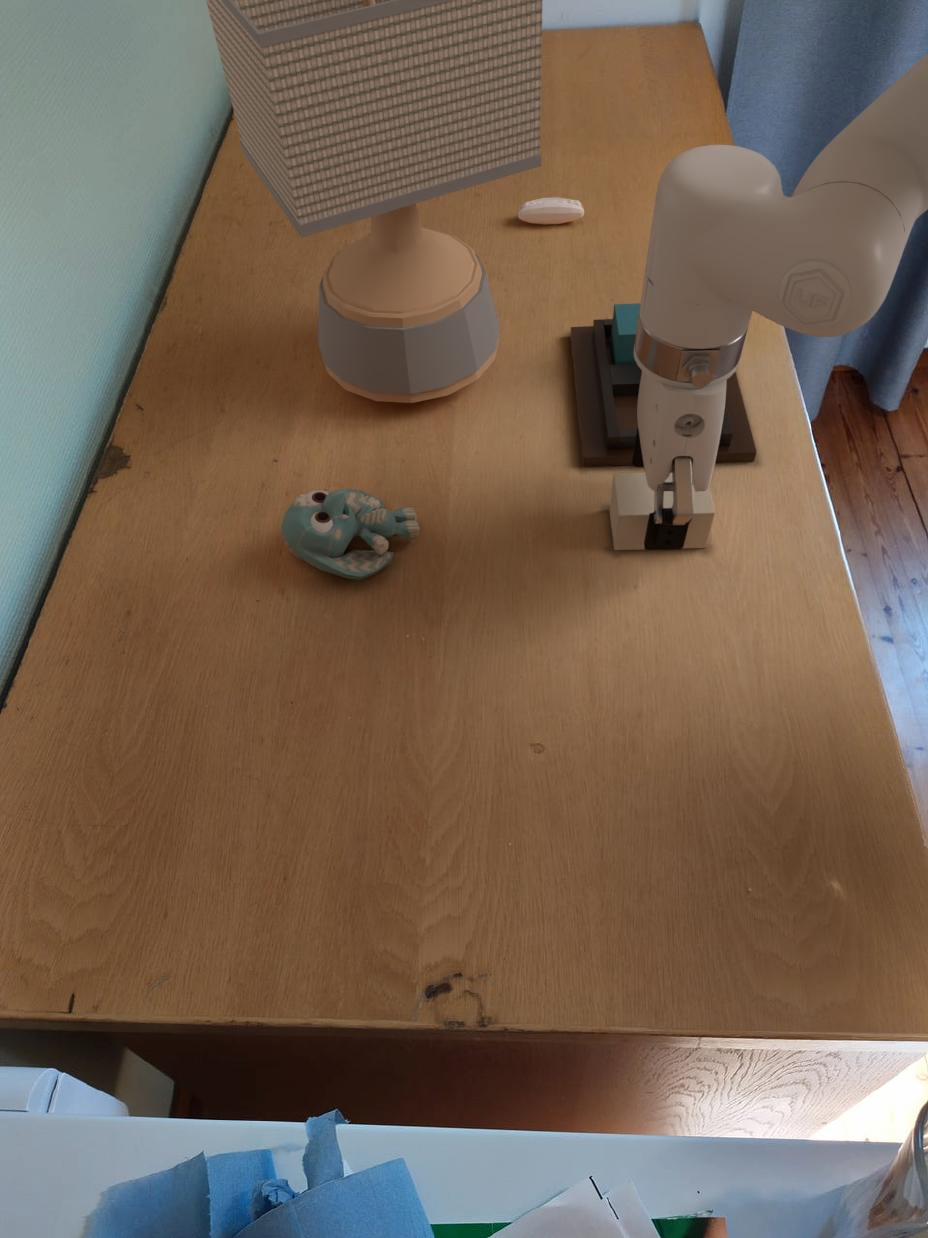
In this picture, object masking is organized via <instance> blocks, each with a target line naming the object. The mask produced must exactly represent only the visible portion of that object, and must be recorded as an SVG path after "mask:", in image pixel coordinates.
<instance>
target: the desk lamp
mask: <svg viewBox="0 0 928 1238" xmlns="http://www.w3.org/2000/svg"><path fill="white" fill-rule="evenodd" d="M205 1H206V6H207V9H208V13H209V17H210V21H211V25H212V29H213V34H214V37H215V41H216V46H217V50H218V53H219V57H220V62H221V66H222V69H223V74H224V78H225V82H226V85H227V90H228V94H229V98H230V101H231V102H230V103H231V106H232V109H233V113H234V118H235V122H236V126H237V130H238V134H239V138H240V140H239V143H240V146H241V151H242V153H243V155H244V156H245V158H246V159H247V161H248V162H249V165H251V166H252V168H253V170H254V171H255V172H256V174H257V175H258V176H259V178H260V180H261V182H263V184H264V186H265V187H266V188H267V190H268V191H269V193H270V195H272V197H273V198H274V200H275V201H276V203H277V204H278V206H279V207H280V209H281V210H282V212H283V213H284V214H285V216H286V218H287V219H288V220H289V222H290V224H291V225H292V227H293V228H294V229H295V231H296V232H297V233H298V235H299V236H300V238H305V237H308V236H312V235H315V234H318V233H322V232H325V231H329V230H332V229H336V228H339V227H342V226H345V225H348V224H352V223H355V222H360V221H362V220H365V219H369V218H370V233H369V234H366V235H365V236H362V237H361V238H358V239H356V240H354V241H352V242H350V243H348V244H346V245H345V246H344V247H343V248H342V249H340V250H339V251H338V252H337V253H336V254H335V255H333V256H332V257H330V259H329V260H328V261H329V262H328V264H327V265H326V268H325V270H324V273H323V276H322V277H321V280H320V282H319V285H318V286H319V287H318V323H317V324H318V326H317V327H318V329H317V342H318V343H317V344H318V347H319V351H320V354H321V358H322V362H323V364H324V367H325V370H326V371H325V372H326V373H327V374H328V375H329V376H330V377H331V378H332V379H333V380H334V381H335V382H337V383H338V385H340V387H342V388H343V389H344V390H345V391H347V392H350V393H353V394H355V395H358V396H361V397H364V398H366V399H369V400H371V401H375V402H388V403H390V402H391V403H406V404H414V403H419V402H423V401H428V400H432V399H433V400H434V399H437V398H442V397H447V396H449V395H451V394H454V393H455V392H458V391H459V390H461V389H463V388H465V387H467V386H468V385H470V384H472V383H475V382H476V381H477V380H479V379H480V378H481V376H482V375H483V374H484V373H485V372H486V370H487V369H488V368H489V367H490V366H491V365H492V364H493V363H494V361H495V360H496V356H497V353H498V347H499V342H500V332H501V325H500V320H499V317H498V313H497V309H496V306H495V302H494V299H493V295H492V291H491V287H490V284H489V279H488V275H487V273H486V270H485V268H484V266H483V264H482V262H481V259H480V258H479V255H478V254H477V253H475V251H474V249H473V248H472V246H470V245H468V244H467V243H465V242H464V241H462V240H461V239H459V238H458V237H456V236H455V235H452V234H448V233H445V232H441V231H438V230H434V229H431V228H425V227H423V225H422V221H421V218H420V214H419V210H418V206H417V204H419V203H421V202H426V201H429V200H432V199H436V198H438V197H442V196H445V195H449V194H453V193H456V192H459V191H462V190H465V189H466V190H467V189H468V188H469V189H470V188H473V187H476V186H479V185H482V184H486V183H489V182H493V181H496V180H499V179H503V178H506V177H509V176H513V175H517V174H519V173H523V172H526V171H529V170H533V169H536V168H539V167H542V153H541V119H542V117H541V115H542V64H543V63H542V61H543V60H542V59H543V58H542V57H543V50H542V49H543V0H205Z"/></svg>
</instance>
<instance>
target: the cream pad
mask: <svg viewBox="0 0 928 1238" xmlns="http://www.w3.org/2000/svg"><path fill="white" fill-rule="evenodd" d="M665 482H673V479H672V473H670V475H669V477H668V478H667V479H666V480H665ZM710 486H711V485H710ZM710 486H709V488H708V489H707V490H706V491H695V488H694V485H693V488H692V489H693V517H692V521H691V522H690V523H689V527H688V531H687V535H686V539H685V542H684V546H683V548H682V549H706V548H707V547H708V543H709V539H710V535H711V532H712V527H713V524H714V521H715V520H714V519H715V516H716V510H715V505H714V500H713V496H712V492H711V488H710ZM672 506H673V491H664V500H663V508H672ZM608 508H609V518H610V527H611V532H612V533H611V534H612V543H613V550H614V551H641V550H642V551H643V550H646V549H645V547H644V540H645V534H646V529H647V524H648V519H649V514H650V513H653V512H654V491H653V490H652V489H651V488H650V487H649V486H648V484H647V480H646V475H645V472H624V473H622V472H621V473H620V472H619V473H613V475H612V482H611V492H610V499H609V507H608ZM682 549H681V550H682Z"/></svg>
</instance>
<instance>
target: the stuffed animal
mask: <svg viewBox="0 0 928 1238" xmlns="http://www.w3.org/2000/svg"><path fill="white" fill-rule="evenodd" d="M383 503H384V502H383V501H382V500H381V499H379V498H378V497H376V496H373V495H372V494H369V493H368V492H366V491H363V490H359V489H352V488H342V489H337V490H335V491H329V490H322V489H316V490H312V491H309V492H307V493H301V494H299V495H298V496H296V497H295V499H294V500H293V501H292V502H291V504H290V506H289V507H288V508H287V510H286V511H285V512H284V516H283V518H282V522H281V525H280V526H281V527H280V531H281V532H280V533H281V537H282V540H283V542H284V543H283V544H284V545H285V546H286V548H287V549H288V550H289V551H290V553H291V555H293V556H295V557H296V558H298V559H299V560H300V561H302V562H307V564H309V565H311V566H313V567H315V568H317V569H318V570H320V571H322V572H325V573H329V574H331V575H335V576H338V577H340V578H341V577H342V578H344V579H347V580H355V581H361V580H364V579H366V578H369V577H372V576H374V575H376V574H379V572H381V571H382V570H383V569H384V568H386V566H388V565H389V564H391V562H392V560H393V558H394V557H395V553H394V552H392V551H388V550H389V545H390V544H389V543H390V542H389V541H388V539H390V538H392V537H393V536H398V537H402V538H404V539H415V538H418V537H419V535H420V533H421V528H420V525H419V523H418V521H417V520H418V517H417V512H416V510H415V509H414V508H413V507H400V508H398V509H396V510H395V511H390V509H389V510H388V509H387V508H385V506H384V504H383ZM355 536H360V538H361V539H362V540H364V542H365V543H367V545H369V546H370V548H371V550H370V549H353V550H350V551H349V552H346V549H347V548H348V545H349V544H350V543H351V541H352V539H353V538H354V537H355ZM345 552H346V553H345Z"/></svg>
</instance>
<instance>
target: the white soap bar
mask: <svg viewBox="0 0 928 1238" xmlns="http://www.w3.org/2000/svg"><path fill="white" fill-rule="evenodd" d="M584 216H585V210H584V205H583V204H582V203H581V201H580V200H578V199H571V198H565V197H559V196H557V197H542V198H537V199H533V200H529V201H526V202H524V203H522V204H521V205H520V206H519V208H518V213H517V217H518V219H519V220H520V221H523V222H526V223H530V224H535V225H544V226H545V225H561V224H565V223H566V224H567V223H571V222H573V221H576V220H579V219H581V218H583V217H584Z"/></svg>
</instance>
